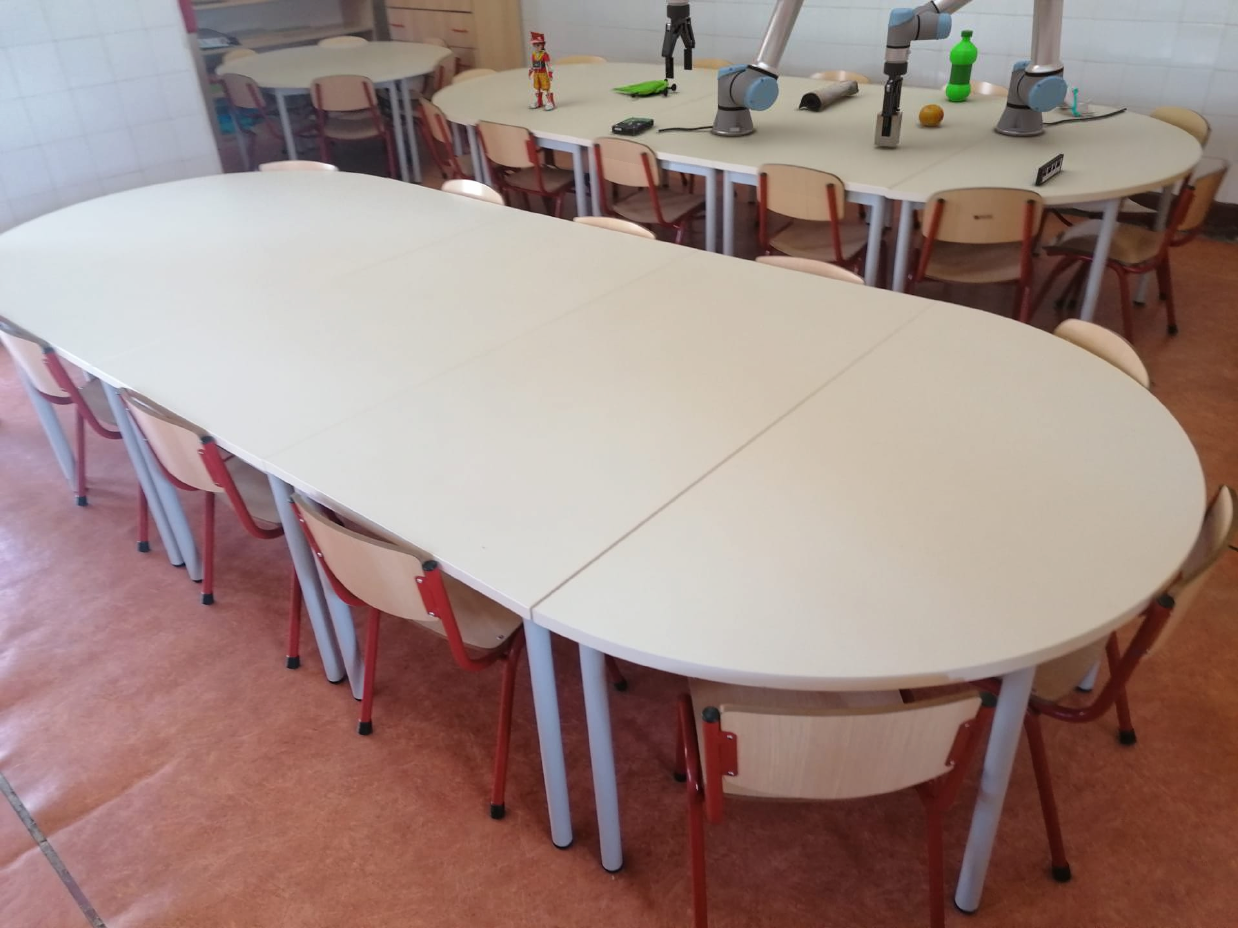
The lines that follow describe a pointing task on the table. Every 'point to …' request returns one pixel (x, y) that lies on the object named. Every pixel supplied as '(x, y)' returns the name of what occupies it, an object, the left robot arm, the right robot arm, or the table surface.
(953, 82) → the plastic bottle
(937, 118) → the fruit
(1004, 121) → the right robot arm
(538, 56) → the toy
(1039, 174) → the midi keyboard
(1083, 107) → the anatomical model
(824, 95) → the rolled mat
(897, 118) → the brick
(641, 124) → the disk drive
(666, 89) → the toy
